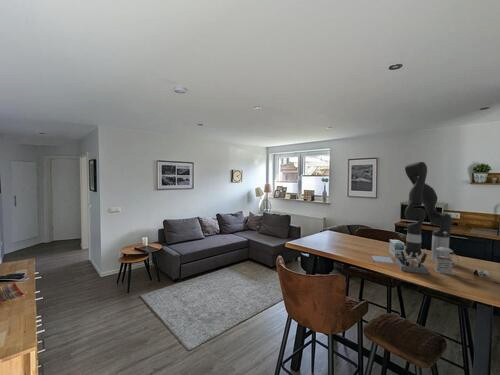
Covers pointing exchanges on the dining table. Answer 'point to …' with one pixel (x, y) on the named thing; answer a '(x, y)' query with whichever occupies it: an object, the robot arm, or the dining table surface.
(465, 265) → the dining table surface
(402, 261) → the parts bin
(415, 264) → the beige box with label
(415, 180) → the robot arm
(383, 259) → the placing board
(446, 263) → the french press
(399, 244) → the light bulb box
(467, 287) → the dining table surface
